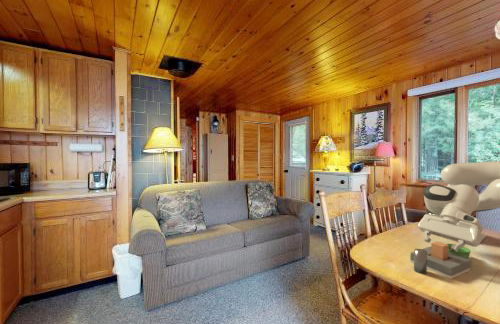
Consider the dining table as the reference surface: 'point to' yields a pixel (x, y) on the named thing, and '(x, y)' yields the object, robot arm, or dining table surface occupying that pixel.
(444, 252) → the square bit
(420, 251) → the cylinder
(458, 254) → the ramekin
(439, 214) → the robot arm
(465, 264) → the holder block
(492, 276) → the dining table surface
